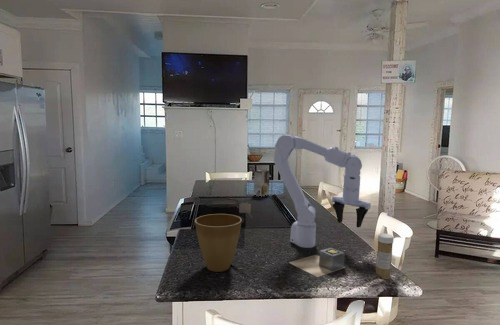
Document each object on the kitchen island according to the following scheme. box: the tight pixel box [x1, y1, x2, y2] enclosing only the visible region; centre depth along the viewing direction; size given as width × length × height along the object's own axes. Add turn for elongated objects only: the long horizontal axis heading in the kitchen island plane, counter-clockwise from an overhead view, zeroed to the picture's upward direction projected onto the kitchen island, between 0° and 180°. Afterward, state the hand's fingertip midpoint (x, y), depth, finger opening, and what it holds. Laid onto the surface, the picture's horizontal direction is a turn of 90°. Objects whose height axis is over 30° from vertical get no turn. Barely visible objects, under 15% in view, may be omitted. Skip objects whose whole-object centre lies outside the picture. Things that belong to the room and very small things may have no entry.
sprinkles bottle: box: [375, 233, 395, 280], centre depth 109 cm, size 5×5×13 cm
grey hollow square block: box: [318, 247, 345, 272], centre depth 114 cm, size 6×6×5 cm
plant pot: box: [194, 213, 243, 273], centre depth 113 cm, size 15×15×16 cm
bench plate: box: [288, 254, 346, 278], centre depth 115 cm, size 13×13×1 cm
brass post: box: [327, 250, 338, 254], centre depth 114 cm, size 2×2×6 cm
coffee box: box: [253, 169, 270, 198], centre depth 225 cm, size 9×6×16 cm
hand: (349, 224), depth 130 cm, fingers open, 7 cm apart
